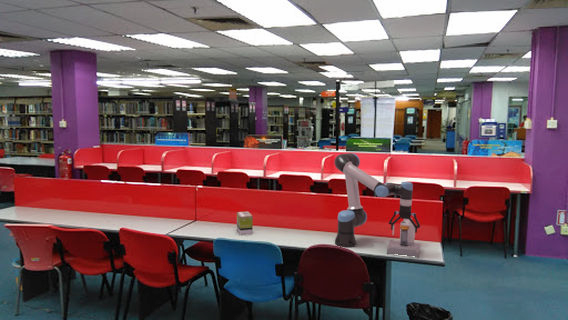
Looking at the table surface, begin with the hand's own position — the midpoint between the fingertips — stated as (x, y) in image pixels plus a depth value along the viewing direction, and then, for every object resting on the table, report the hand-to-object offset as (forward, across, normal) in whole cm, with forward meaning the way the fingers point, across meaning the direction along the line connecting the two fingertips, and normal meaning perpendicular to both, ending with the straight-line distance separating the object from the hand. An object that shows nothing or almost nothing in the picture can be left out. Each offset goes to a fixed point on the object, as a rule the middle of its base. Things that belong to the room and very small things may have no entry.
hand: (403, 235), depth 262 cm
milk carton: (+11, +2, +19) cm, 22 cm away
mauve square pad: (+11, +1, 0) cm, 11 cm away
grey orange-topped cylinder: (+11, +1, 0) cm, 11 cm away
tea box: (+14, -119, 0) cm, 120 cm away
